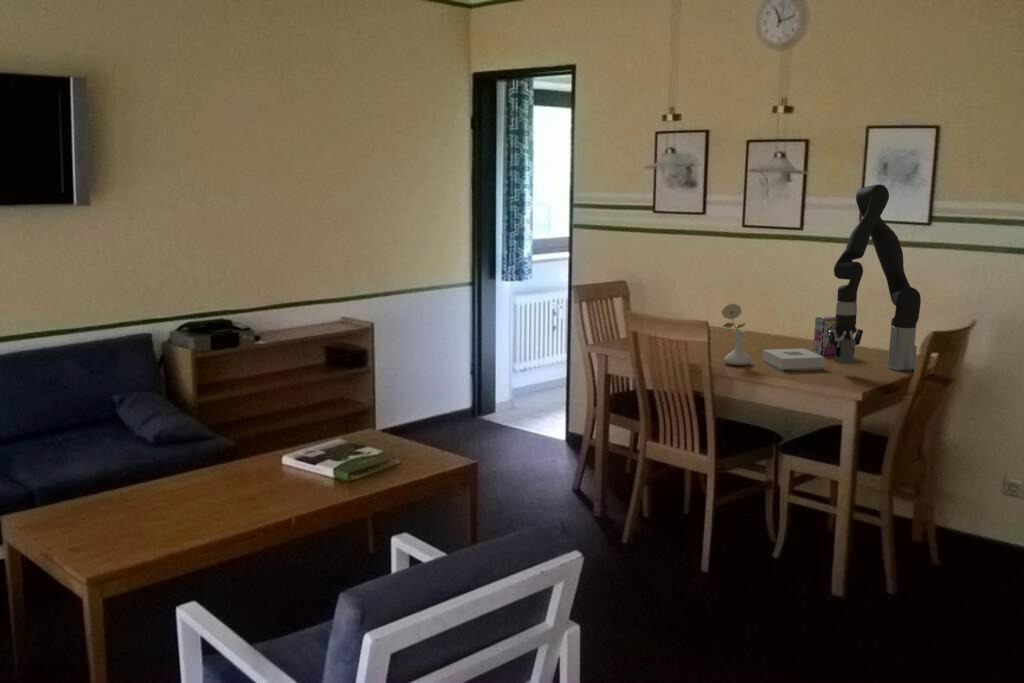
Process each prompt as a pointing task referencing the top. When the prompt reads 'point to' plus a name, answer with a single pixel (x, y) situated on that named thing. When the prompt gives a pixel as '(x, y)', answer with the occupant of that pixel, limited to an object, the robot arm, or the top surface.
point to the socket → (793, 359)
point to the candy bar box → (824, 335)
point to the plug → (846, 352)
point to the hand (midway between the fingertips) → (844, 355)
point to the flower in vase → (737, 354)
